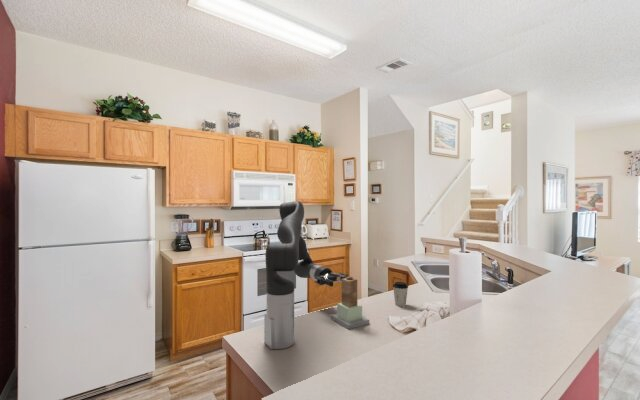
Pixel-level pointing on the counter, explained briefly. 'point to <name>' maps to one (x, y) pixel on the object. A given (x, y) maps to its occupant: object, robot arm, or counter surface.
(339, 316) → the foundation
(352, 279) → the walnut pillar block
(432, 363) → the counter surface
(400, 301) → the coffee cup
